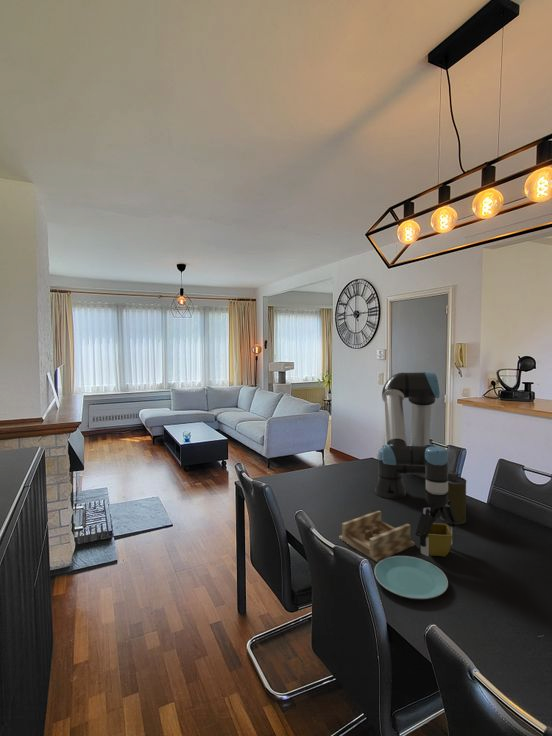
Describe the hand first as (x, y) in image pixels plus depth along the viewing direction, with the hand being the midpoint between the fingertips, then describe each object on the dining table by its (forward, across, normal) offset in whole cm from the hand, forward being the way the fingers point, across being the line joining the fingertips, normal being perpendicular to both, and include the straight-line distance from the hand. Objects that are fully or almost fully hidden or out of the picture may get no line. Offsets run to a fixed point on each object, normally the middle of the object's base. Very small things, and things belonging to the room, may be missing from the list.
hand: (436, 548), depth 140 cm
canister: (+2, -29, -13) cm, 32 cm away
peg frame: (+2, +12, -18) cm, 22 cm away
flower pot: (+2, 0, 0) cm, 2 cm away
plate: (+2, +22, +6) cm, 23 cm away
